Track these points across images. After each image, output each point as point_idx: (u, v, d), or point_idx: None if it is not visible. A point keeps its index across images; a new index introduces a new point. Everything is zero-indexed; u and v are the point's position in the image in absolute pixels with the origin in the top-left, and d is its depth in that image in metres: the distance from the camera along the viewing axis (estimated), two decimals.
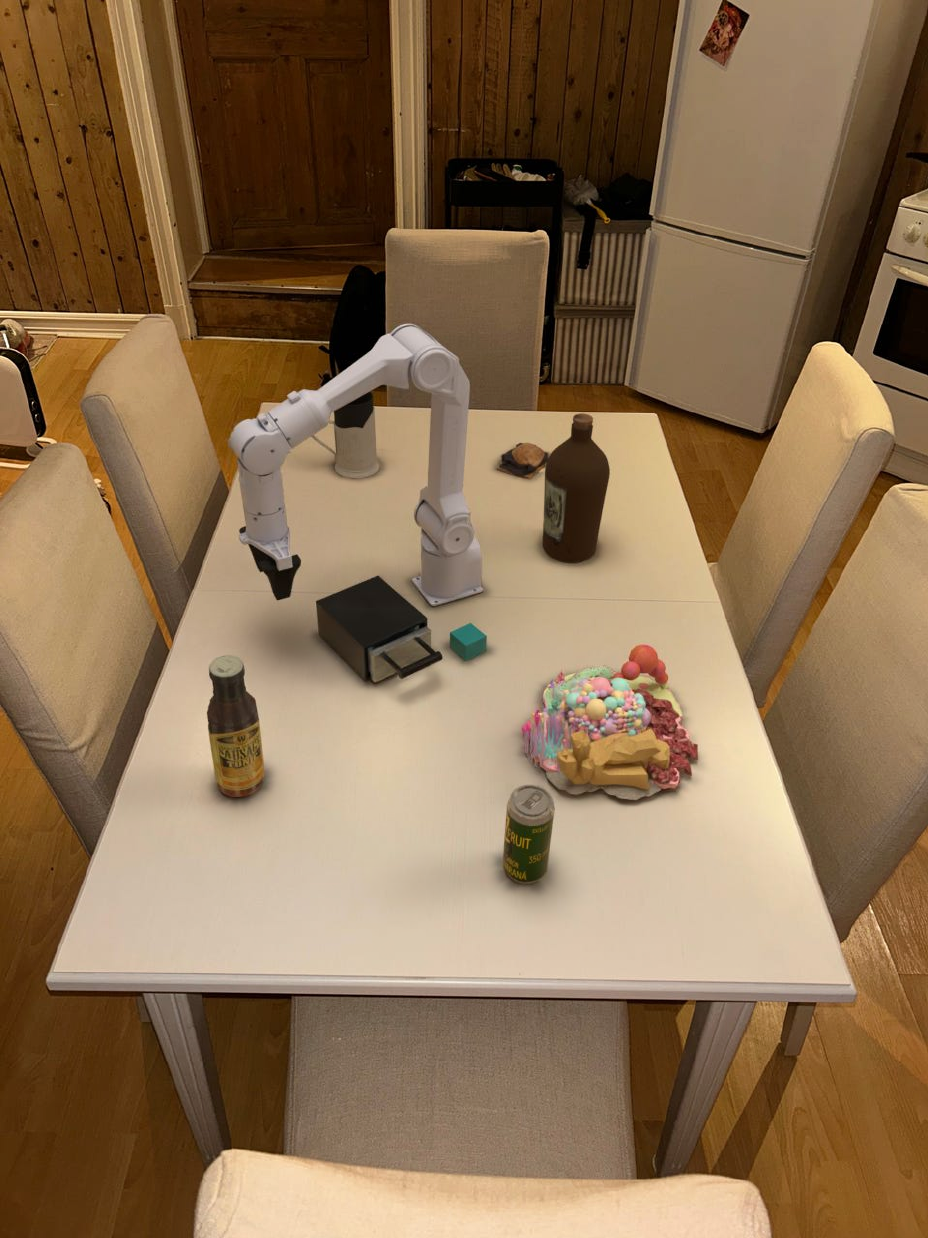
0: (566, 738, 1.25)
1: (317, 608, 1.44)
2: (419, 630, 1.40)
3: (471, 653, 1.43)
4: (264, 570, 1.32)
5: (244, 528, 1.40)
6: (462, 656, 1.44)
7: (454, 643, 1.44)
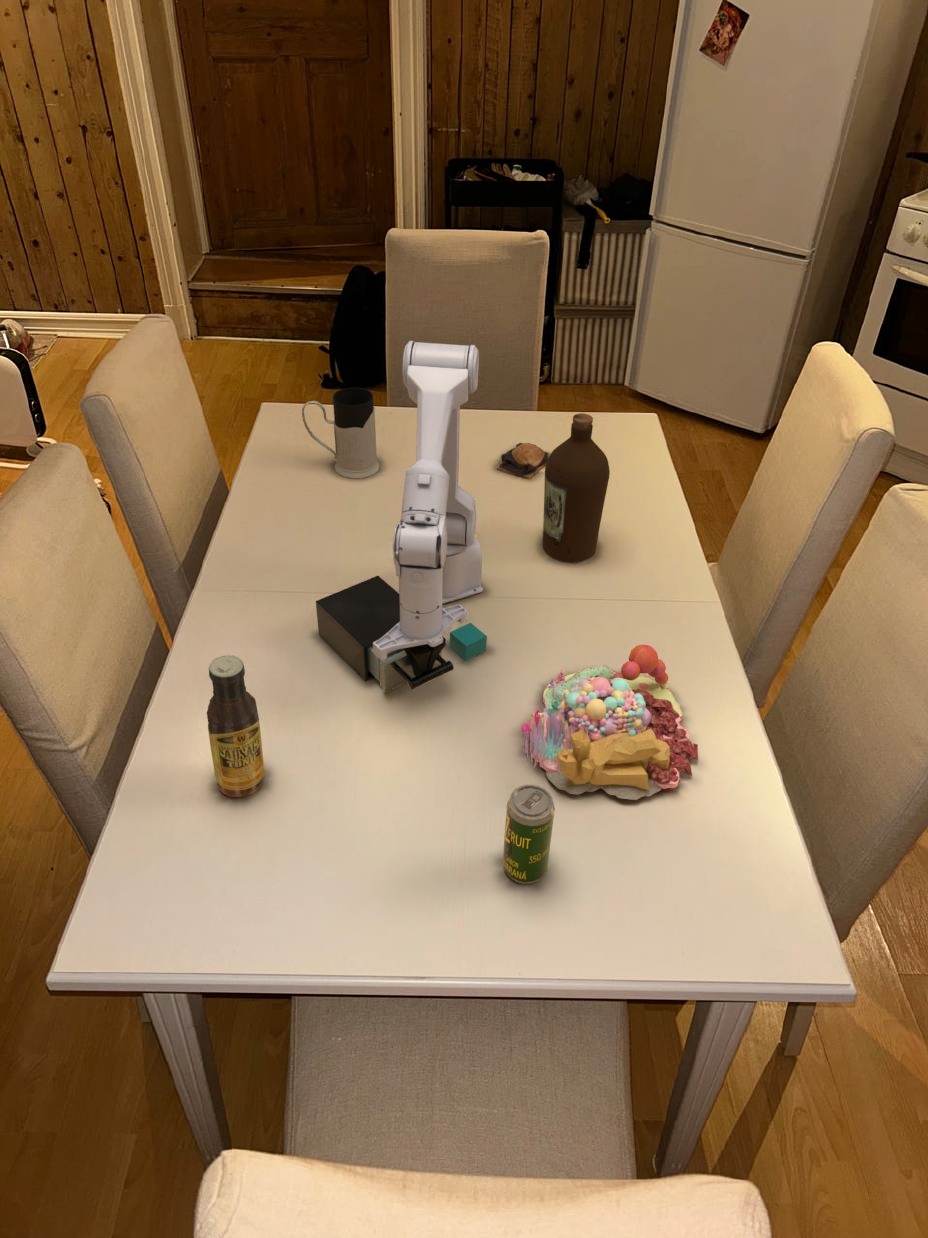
0: (566, 738, 1.25)
1: (317, 608, 1.44)
2: None
3: (471, 653, 1.43)
4: (445, 642, 1.32)
5: (416, 652, 1.30)
6: (462, 656, 1.44)
7: (454, 643, 1.44)
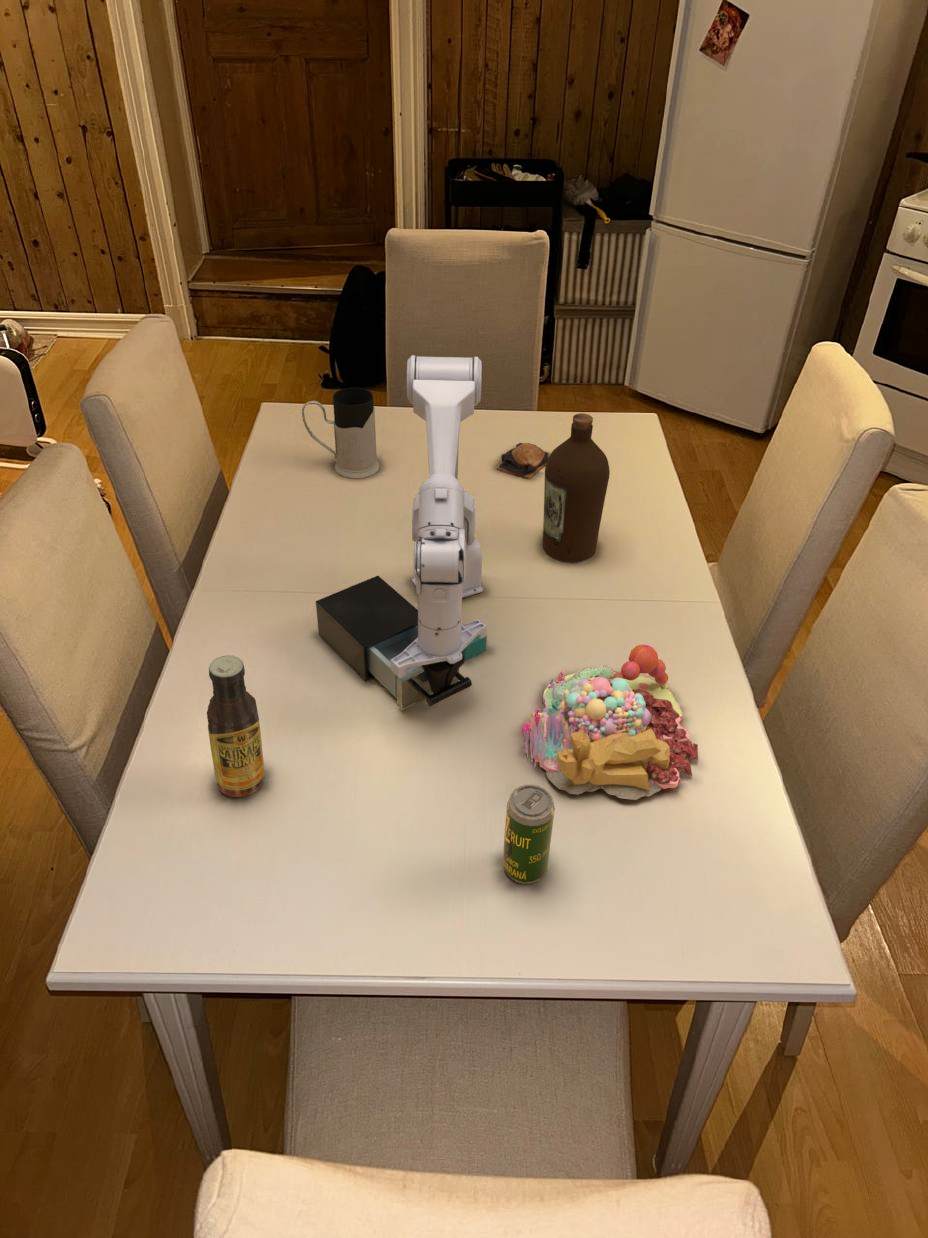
0: (566, 738, 1.25)
1: (317, 608, 1.44)
2: None
3: (471, 653, 1.43)
4: None
5: (435, 669, 1.27)
6: None
7: None
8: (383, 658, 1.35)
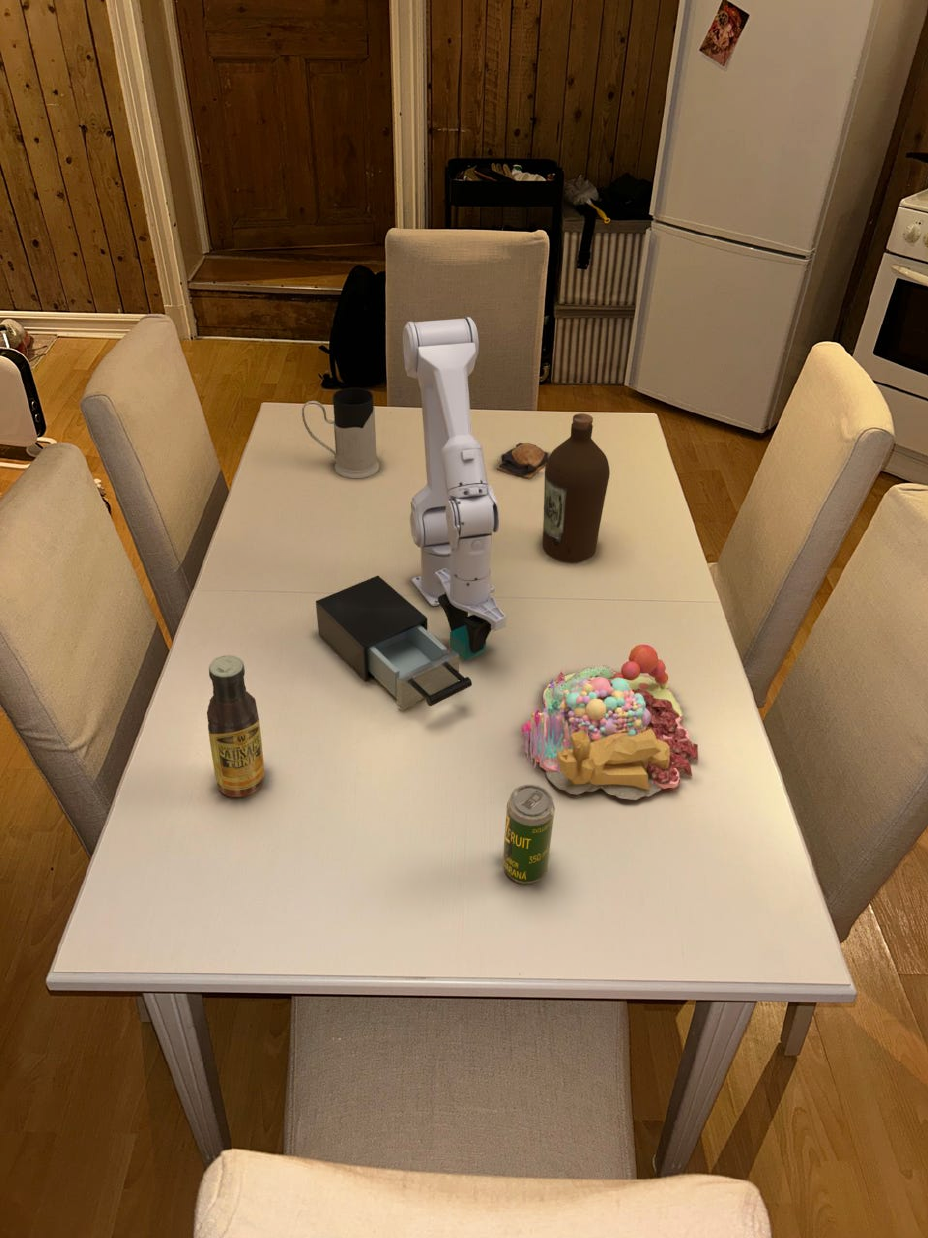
0: (566, 738, 1.25)
1: (317, 608, 1.44)
2: (447, 655, 1.35)
3: (471, 653, 1.43)
4: None
5: None
6: (462, 656, 1.44)
7: (454, 643, 1.44)
8: (383, 658, 1.35)
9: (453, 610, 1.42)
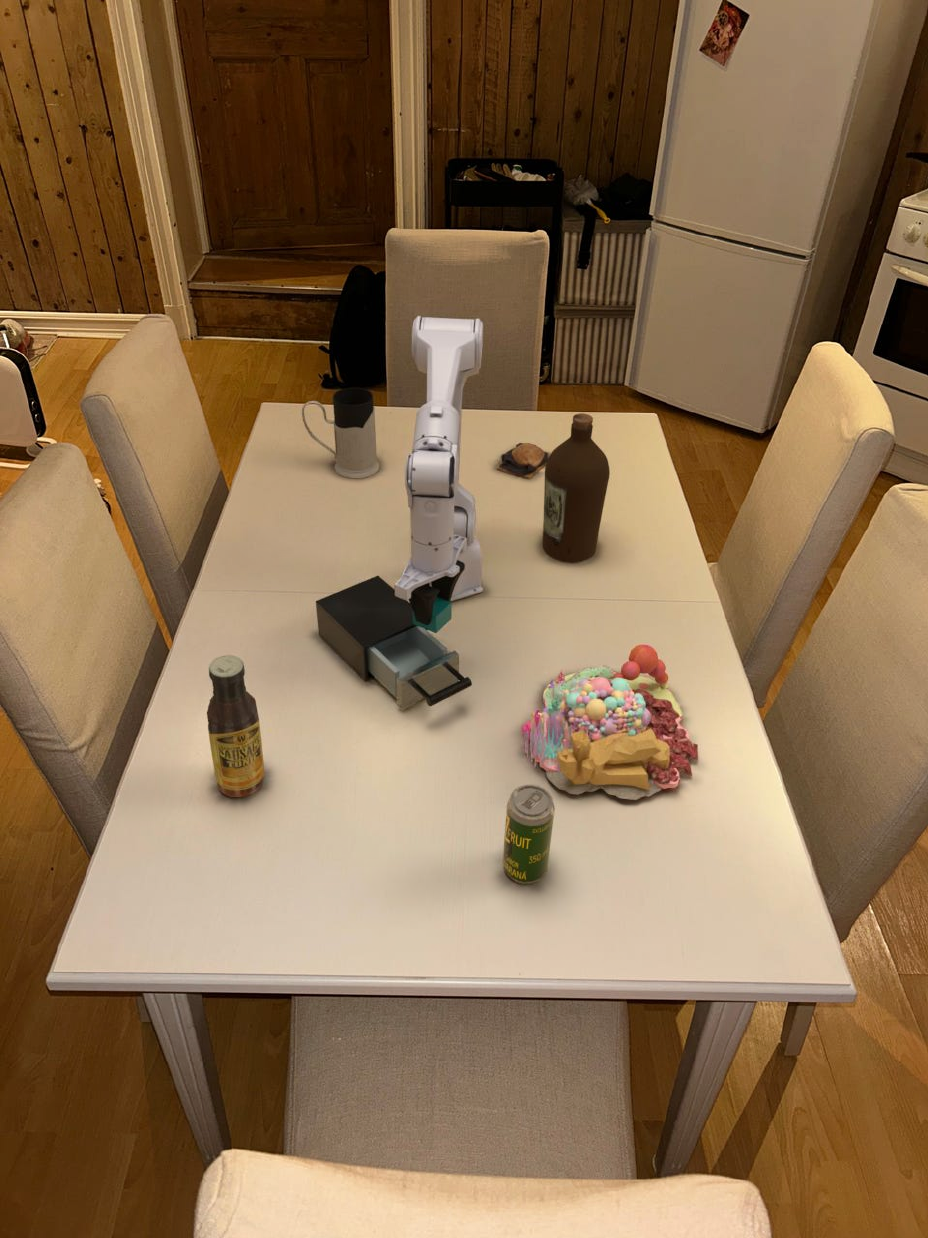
0: (566, 738, 1.25)
1: (317, 608, 1.44)
2: (447, 655, 1.35)
3: None
4: (464, 565, 1.33)
5: (426, 593, 1.28)
6: None
7: None
8: (383, 658, 1.35)
9: None
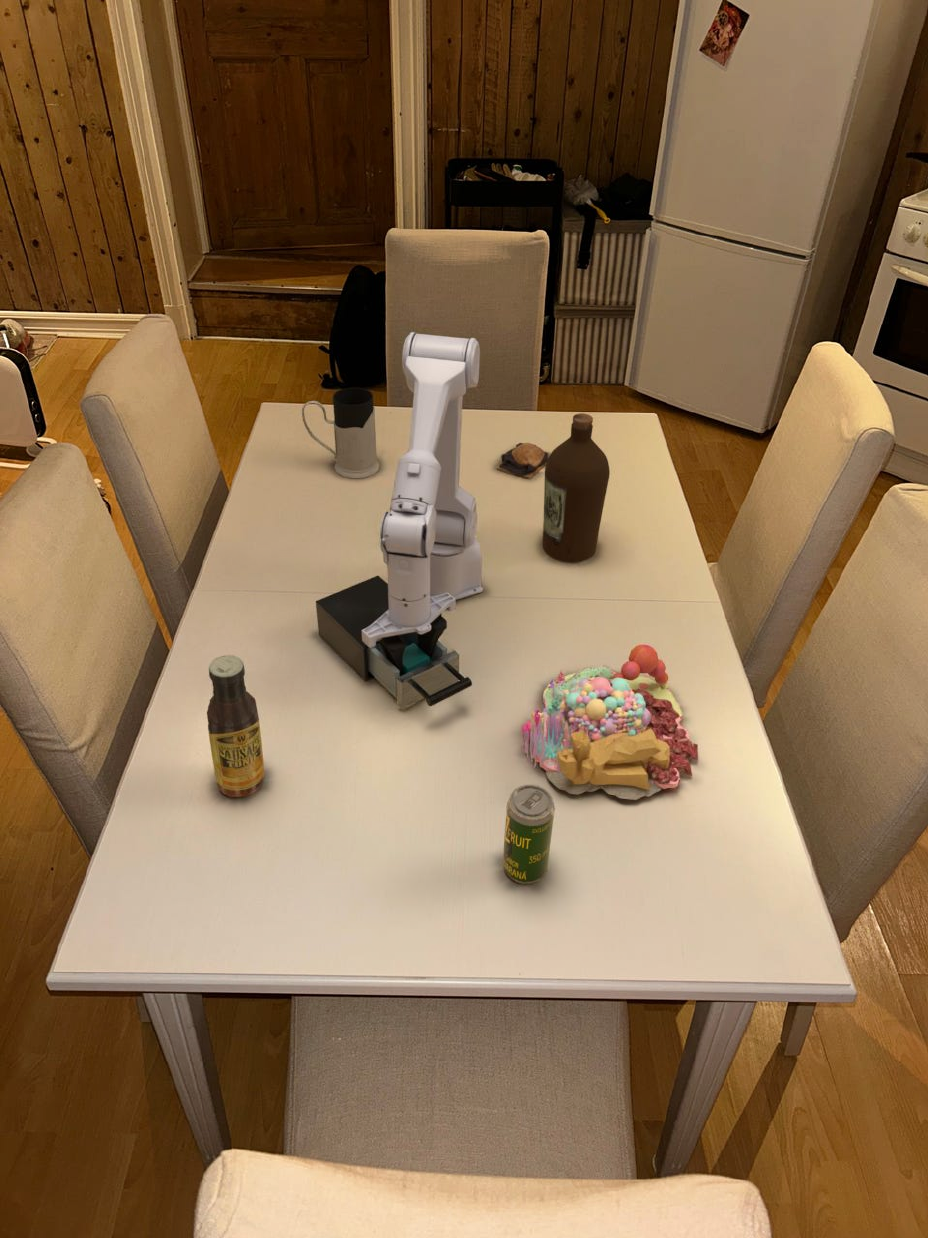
0: (566, 738, 1.25)
1: (317, 608, 1.44)
2: (447, 655, 1.35)
3: None
4: (446, 624, 1.34)
5: (391, 646, 1.30)
6: None
7: None
8: (383, 658, 1.35)
9: None
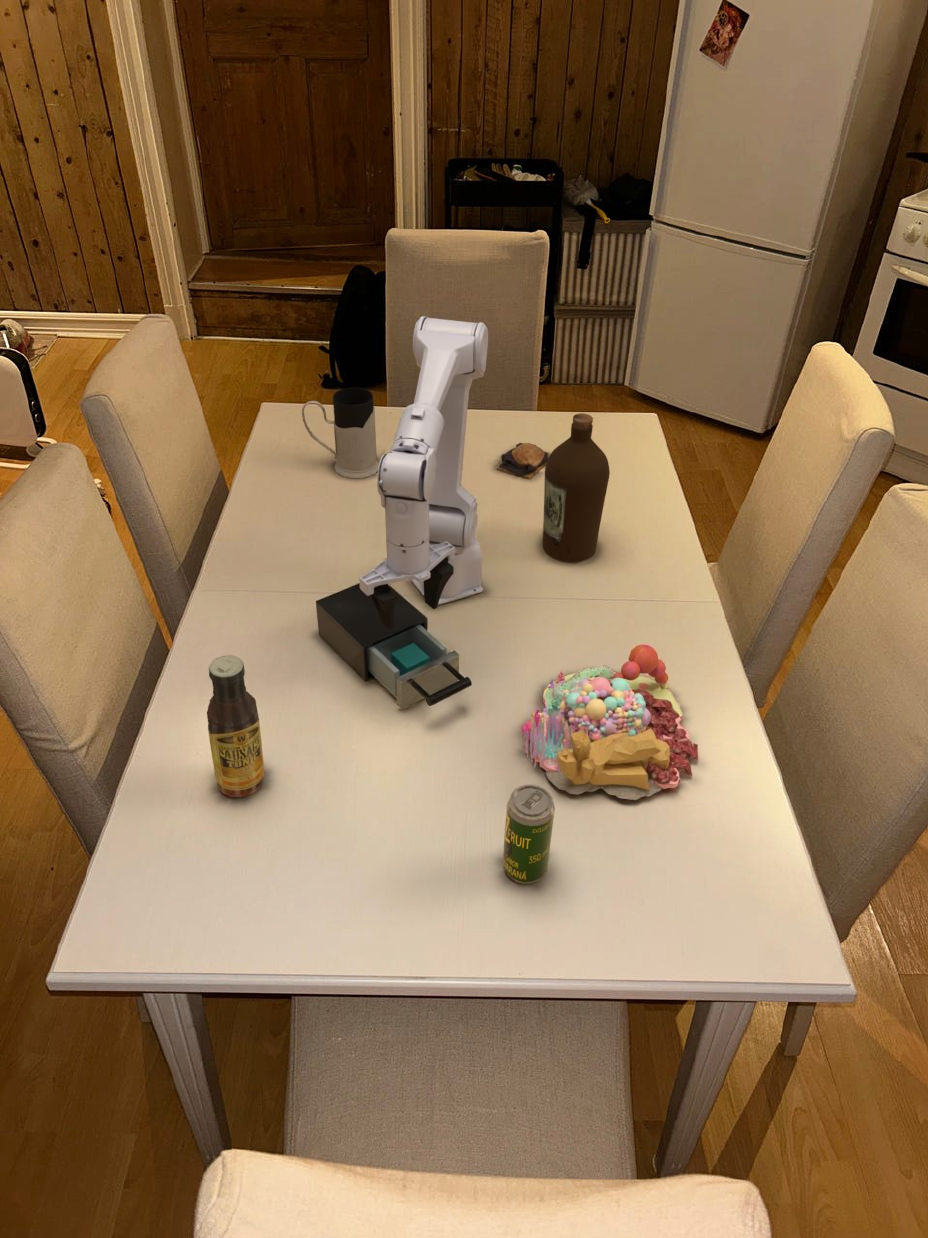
0: (566, 738, 1.25)
1: (317, 608, 1.44)
2: (447, 655, 1.35)
3: None
4: (453, 570, 1.32)
5: (382, 597, 1.27)
6: None
7: None
8: (383, 658, 1.35)
9: None
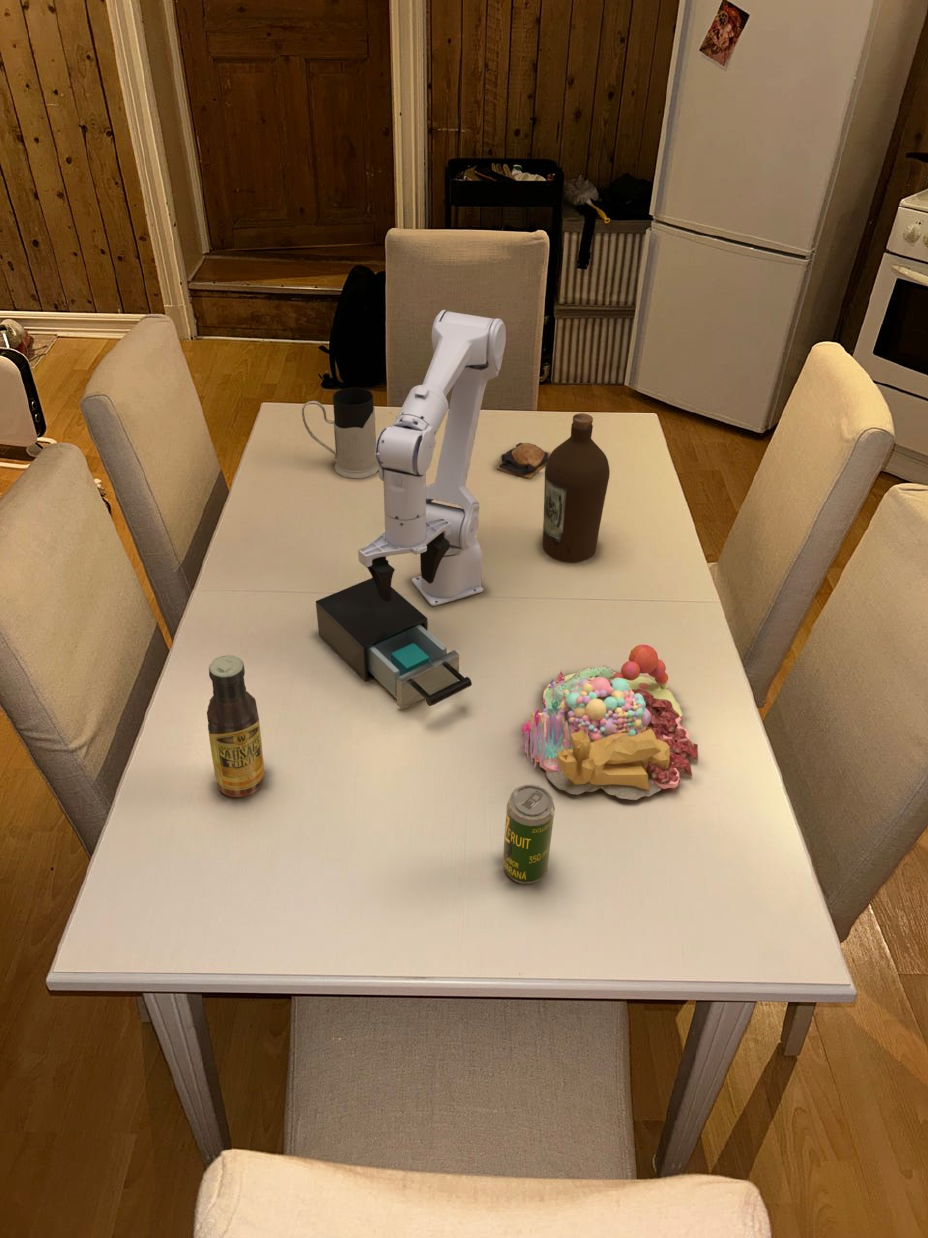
0: (566, 738, 1.25)
1: (317, 608, 1.44)
2: (447, 655, 1.35)
3: None
4: (449, 545, 1.37)
5: (380, 569, 1.32)
6: None
7: None
8: (383, 658, 1.35)
9: None
